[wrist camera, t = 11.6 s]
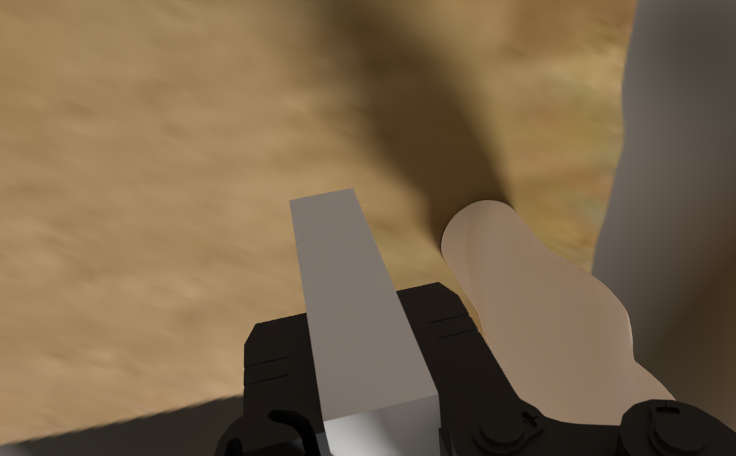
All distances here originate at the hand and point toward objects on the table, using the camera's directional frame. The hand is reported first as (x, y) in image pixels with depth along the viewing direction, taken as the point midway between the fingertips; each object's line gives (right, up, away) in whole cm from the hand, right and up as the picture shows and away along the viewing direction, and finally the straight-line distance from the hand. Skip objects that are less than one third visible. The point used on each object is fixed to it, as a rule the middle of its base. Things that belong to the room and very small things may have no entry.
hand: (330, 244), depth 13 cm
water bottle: (+12, -1, +36) cm, 38 cm away
